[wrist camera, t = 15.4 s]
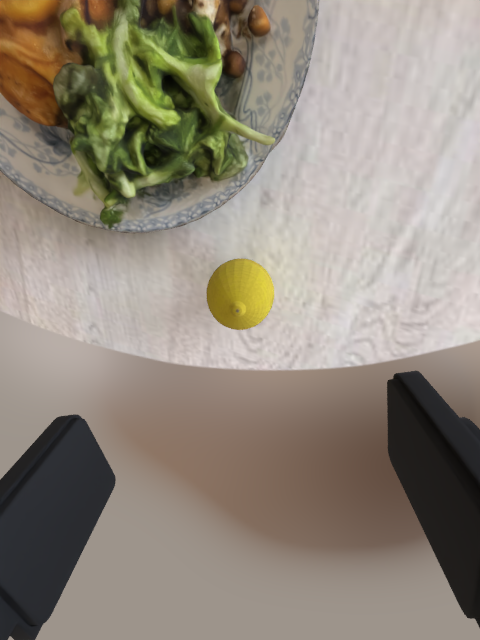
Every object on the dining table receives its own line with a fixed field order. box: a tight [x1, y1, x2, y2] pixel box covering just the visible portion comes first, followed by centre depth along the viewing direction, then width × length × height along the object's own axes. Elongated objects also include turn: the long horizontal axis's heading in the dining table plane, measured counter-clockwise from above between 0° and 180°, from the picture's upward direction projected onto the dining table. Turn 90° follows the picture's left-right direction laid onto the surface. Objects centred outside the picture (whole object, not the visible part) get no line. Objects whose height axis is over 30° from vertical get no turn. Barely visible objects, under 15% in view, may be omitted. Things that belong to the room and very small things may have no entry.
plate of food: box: [0, 0, 319, 233], centre depth 18 cm, size 28×28×6 cm
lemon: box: [207, 259, 274, 330], centre depth 24 cm, size 6×6×8 cm
